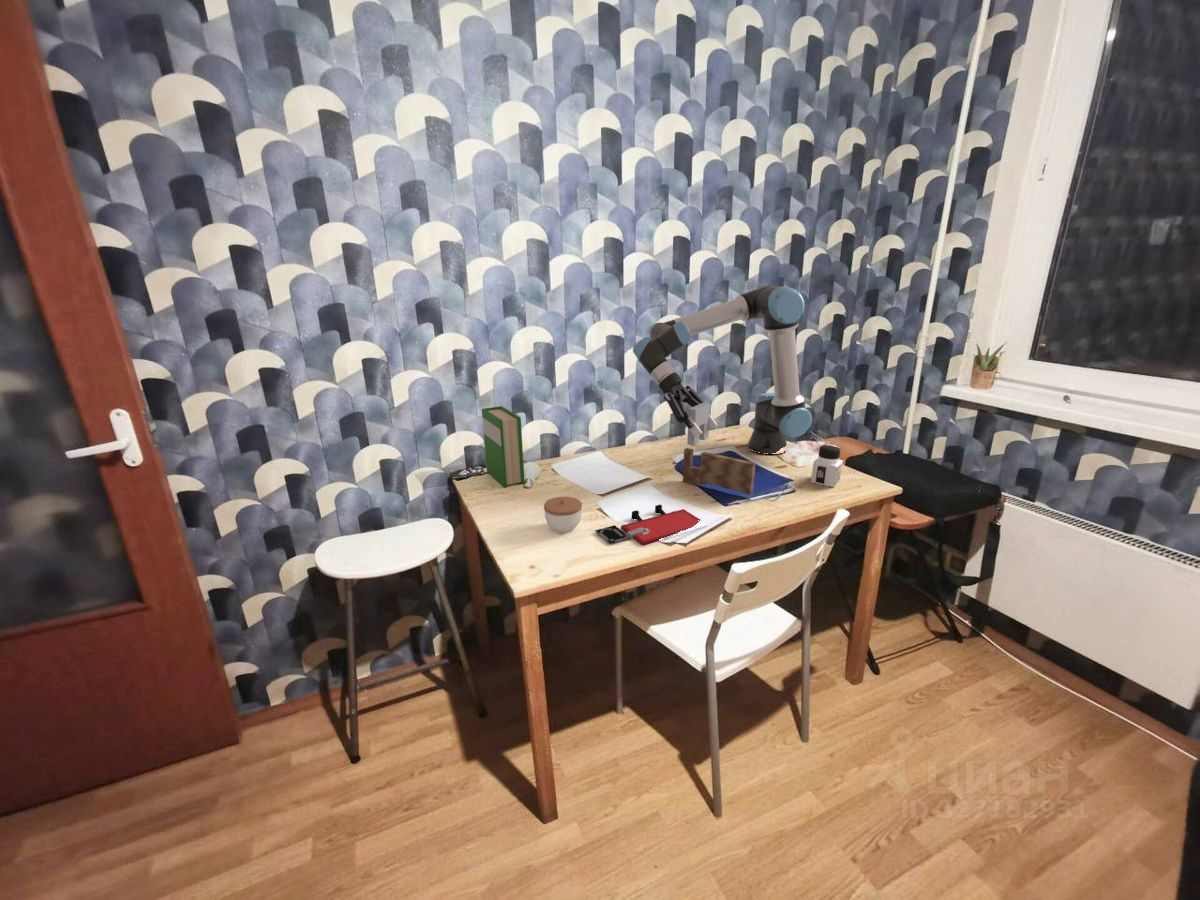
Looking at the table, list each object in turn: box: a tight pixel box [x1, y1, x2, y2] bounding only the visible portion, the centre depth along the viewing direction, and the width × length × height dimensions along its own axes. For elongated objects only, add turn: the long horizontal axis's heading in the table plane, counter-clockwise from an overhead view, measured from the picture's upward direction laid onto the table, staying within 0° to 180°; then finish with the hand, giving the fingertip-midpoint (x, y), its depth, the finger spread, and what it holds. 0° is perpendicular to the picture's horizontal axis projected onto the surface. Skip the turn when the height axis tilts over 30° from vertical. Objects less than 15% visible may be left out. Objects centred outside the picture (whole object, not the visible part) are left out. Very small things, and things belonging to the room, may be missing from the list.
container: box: [810, 444, 844, 488], centre depth 182 cm, size 8×8×13 cm
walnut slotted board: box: [682, 447, 756, 495], centre depth 176 cm, size 24×2×12 cm, turn 52°
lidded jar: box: [543, 496, 583, 534], centre depth 152 cm, size 11×11×9 cm
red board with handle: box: [594, 504, 701, 547], centre depth 153 cm, size 30×3×15 cm
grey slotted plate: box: [686, 402, 711, 447], centre depth 176 cm, size 2×10×12 cm, turn 142°
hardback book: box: [481, 405, 526, 489], centre depth 186 cm, size 18×7×24 cm, turn 31°
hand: (706, 431), depth 174 cm, fingers closed on grey slotted plate, 10 cm apart
